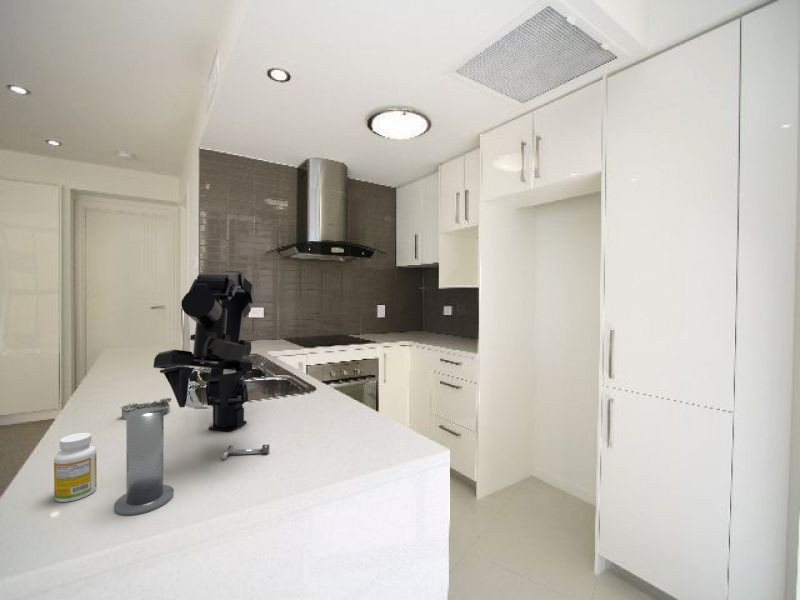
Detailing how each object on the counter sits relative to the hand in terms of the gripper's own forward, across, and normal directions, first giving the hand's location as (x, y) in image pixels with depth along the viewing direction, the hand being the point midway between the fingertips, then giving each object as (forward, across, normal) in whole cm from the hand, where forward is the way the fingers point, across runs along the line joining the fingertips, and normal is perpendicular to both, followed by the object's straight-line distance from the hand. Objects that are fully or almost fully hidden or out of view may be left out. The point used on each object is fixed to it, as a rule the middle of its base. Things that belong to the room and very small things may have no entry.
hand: (204, 407), depth 73 cm
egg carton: (0, +14, +41) cm, 44 cm away
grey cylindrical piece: (+14, -9, 0) cm, 17 cm away
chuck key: (+10, +10, -1) cm, 14 cm away
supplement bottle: (+13, -13, +12) cm, 23 cm away
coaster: (+15, -9, 0) cm, 17 cm away
